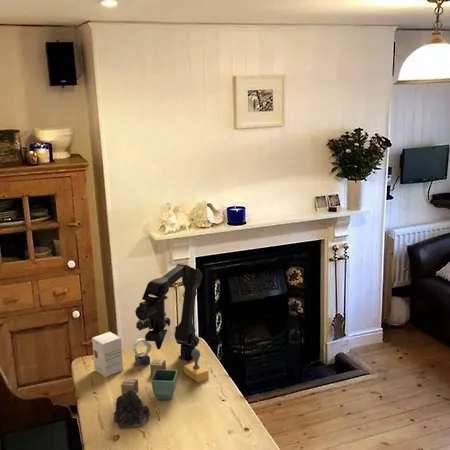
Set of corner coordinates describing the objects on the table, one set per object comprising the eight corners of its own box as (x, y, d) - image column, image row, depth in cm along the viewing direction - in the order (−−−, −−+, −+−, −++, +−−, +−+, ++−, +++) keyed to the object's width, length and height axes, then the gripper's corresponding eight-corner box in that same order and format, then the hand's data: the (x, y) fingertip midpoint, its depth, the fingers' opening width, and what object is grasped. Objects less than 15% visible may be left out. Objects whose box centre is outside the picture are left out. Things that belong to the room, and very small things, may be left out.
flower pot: (179, 390, 223) (177, 369, 221) (174, 403, 214) (173, 381, 212) (156, 390, 224) (155, 369, 222) (151, 402, 215) (150, 380, 213)
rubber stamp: (209, 378, 232) (208, 351, 229) (197, 383, 228) (196, 355, 226) (195, 369, 240) (194, 342, 237) (184, 373, 236) (182, 346, 233)
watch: (154, 362, 246) (152, 338, 244) (137, 367, 242) (135, 343, 239) (148, 357, 251) (146, 334, 248) (131, 362, 246) (129, 339, 244)
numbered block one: (126, 389, 225) (125, 377, 224) (138, 390, 224) (137, 378, 223) (121, 396, 220) (120, 384, 219) (134, 397, 219) (133, 385, 218)
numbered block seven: (154, 369, 240) (154, 358, 239) (166, 370, 239) (165, 359, 238) (150, 375, 235) (150, 364, 234) (162, 376, 234) (161, 365, 233)
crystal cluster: (138, 435, 196) (139, 408, 195) (104, 425, 201) (105, 399, 199) (155, 417, 209) (157, 392, 207) (123, 408, 213) (124, 383, 211)
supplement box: (93, 370, 241) (91, 337, 237) (112, 363, 247) (109, 330, 243) (105, 377, 234) (102, 344, 231) (123, 370, 240) (121, 337, 237)
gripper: (143, 303, 237) (145, 338, 240) (131, 320, 219) (132, 358, 222) (170, 304, 236) (171, 340, 239) (159, 321, 218) (161, 359, 221)
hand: (158, 349), depth 230 cm, fingers closed
